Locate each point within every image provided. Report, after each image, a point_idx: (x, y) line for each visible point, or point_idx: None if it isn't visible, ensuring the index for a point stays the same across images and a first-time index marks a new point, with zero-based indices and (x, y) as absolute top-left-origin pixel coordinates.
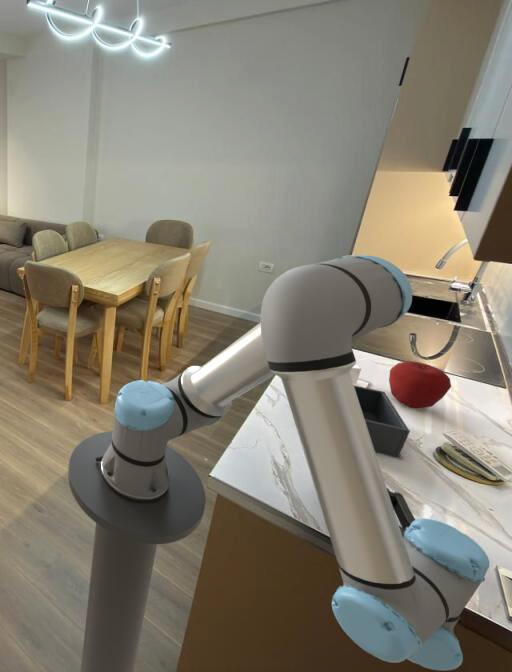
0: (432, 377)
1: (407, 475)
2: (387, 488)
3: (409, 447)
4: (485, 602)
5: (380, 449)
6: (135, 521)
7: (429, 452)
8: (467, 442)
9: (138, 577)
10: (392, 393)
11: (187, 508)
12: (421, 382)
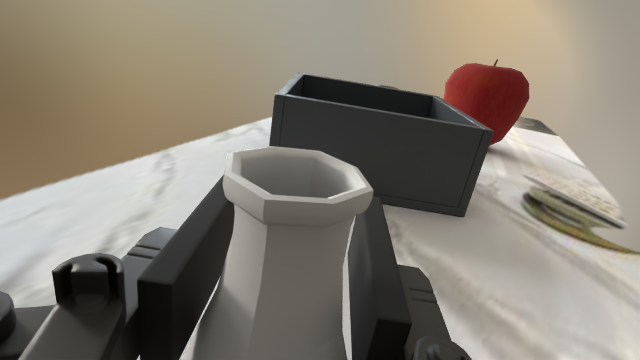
0: (508, 74)
1: (489, 258)
2: (460, 353)
3: (481, 197)
4: None
5: (426, 201)
6: None
7: (516, 203)
8: (560, 185)
9: None
10: None
11: None
12: (492, 84)
